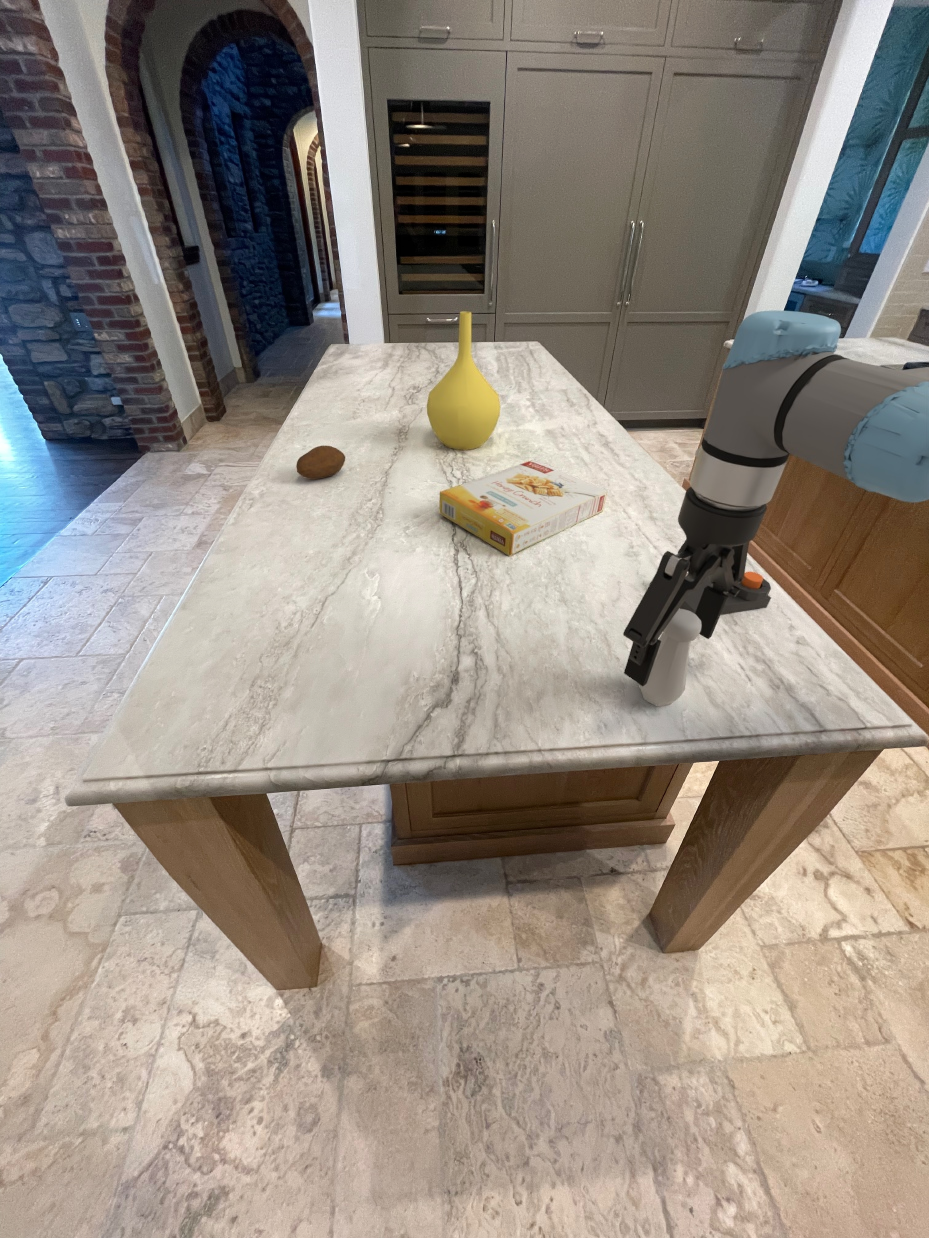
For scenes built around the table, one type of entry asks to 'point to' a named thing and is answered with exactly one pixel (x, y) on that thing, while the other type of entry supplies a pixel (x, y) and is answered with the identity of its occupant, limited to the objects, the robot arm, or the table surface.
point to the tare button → (752, 580)
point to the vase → (463, 399)
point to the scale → (733, 598)
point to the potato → (320, 462)
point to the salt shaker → (672, 660)
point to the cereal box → (521, 504)
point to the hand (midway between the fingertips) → (669, 654)
